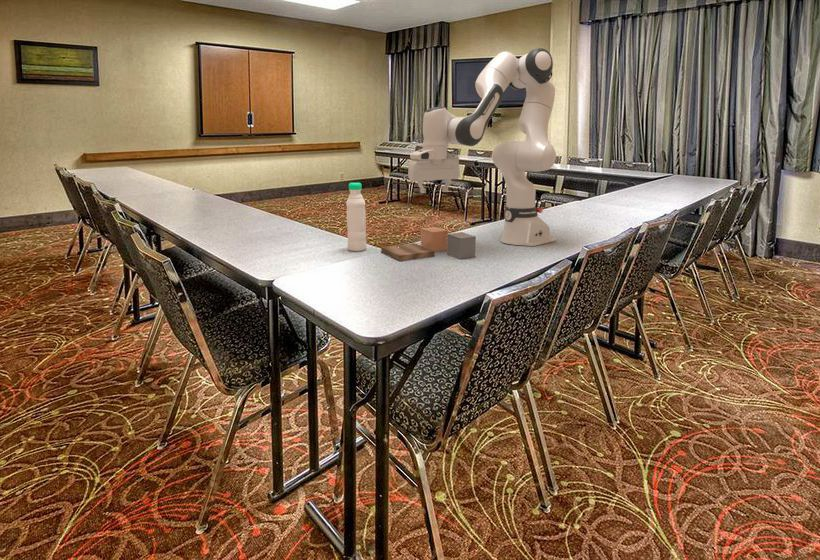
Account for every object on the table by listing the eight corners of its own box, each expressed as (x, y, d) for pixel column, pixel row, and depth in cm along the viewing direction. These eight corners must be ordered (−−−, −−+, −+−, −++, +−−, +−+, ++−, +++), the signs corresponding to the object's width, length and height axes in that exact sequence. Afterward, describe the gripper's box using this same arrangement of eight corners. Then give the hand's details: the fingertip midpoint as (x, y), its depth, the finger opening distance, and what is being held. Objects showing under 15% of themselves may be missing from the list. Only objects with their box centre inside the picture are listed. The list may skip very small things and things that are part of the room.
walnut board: (414, 248, 198) (414, 243, 198) (434, 256, 186) (434, 251, 185) (381, 252, 192) (381, 247, 191) (399, 261, 179) (399, 255, 179)
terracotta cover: (435, 245, 202) (435, 226, 200) (447, 250, 195) (447, 230, 193) (420, 247, 199) (421, 228, 197) (432, 252, 192) (432, 232, 190)
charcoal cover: (461, 252, 192) (462, 232, 190) (475, 257, 184) (475, 236, 182) (447, 254, 189) (447, 233, 187) (460, 259, 182) (460, 238, 179)
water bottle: (363, 252, 192) (361, 184, 185) (345, 251, 194) (342, 183, 187) (368, 248, 199) (367, 182, 192) (351, 247, 200) (348, 181, 193)
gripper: (454, 153, 195) (453, 190, 198) (406, 154, 185) (406, 193, 189) (463, 153, 189) (462, 191, 193) (414, 155, 180) (414, 195, 184)
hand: (434, 192), depth 191 cm, fingers open, 8 cm apart
